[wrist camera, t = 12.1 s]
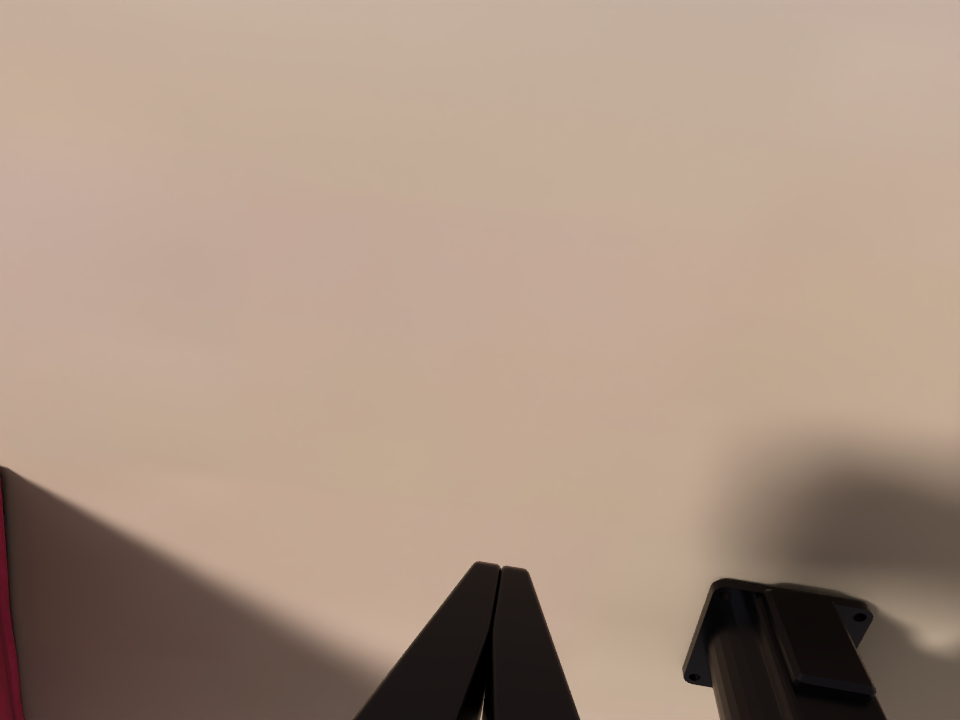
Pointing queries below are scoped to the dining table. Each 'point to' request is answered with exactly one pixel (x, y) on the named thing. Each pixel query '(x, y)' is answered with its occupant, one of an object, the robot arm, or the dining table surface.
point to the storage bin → (7, 641)
